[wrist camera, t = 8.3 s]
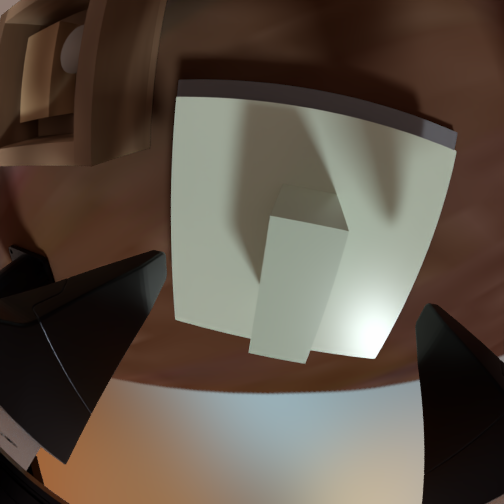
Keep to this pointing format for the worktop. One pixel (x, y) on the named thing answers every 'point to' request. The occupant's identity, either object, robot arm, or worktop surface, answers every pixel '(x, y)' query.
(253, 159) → the lid
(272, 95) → the mat
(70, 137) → the crate
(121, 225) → the worktop surface
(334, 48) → the worktop surface
